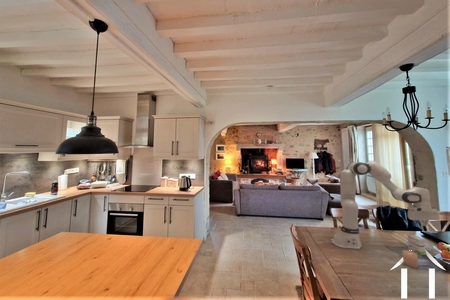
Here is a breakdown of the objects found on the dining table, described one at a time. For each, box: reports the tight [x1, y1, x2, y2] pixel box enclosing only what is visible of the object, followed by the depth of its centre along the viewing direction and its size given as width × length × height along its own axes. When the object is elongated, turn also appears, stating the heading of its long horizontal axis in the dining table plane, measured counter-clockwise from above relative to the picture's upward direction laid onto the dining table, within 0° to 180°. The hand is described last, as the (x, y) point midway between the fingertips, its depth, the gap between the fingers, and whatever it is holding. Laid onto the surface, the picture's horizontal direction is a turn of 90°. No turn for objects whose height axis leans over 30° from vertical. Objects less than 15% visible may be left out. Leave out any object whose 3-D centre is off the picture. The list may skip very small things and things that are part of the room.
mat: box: [386, 246, 425, 259], centre depth 136 cm, size 13×16×1 cm
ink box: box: [407, 234, 427, 256], centre depth 136 cm, size 9×5×12 cm, turn 178°
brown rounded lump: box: [402, 249, 419, 269], centre depth 121 cm, size 7×7×8 cm
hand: (424, 225), depth 136 cm, fingers closed
